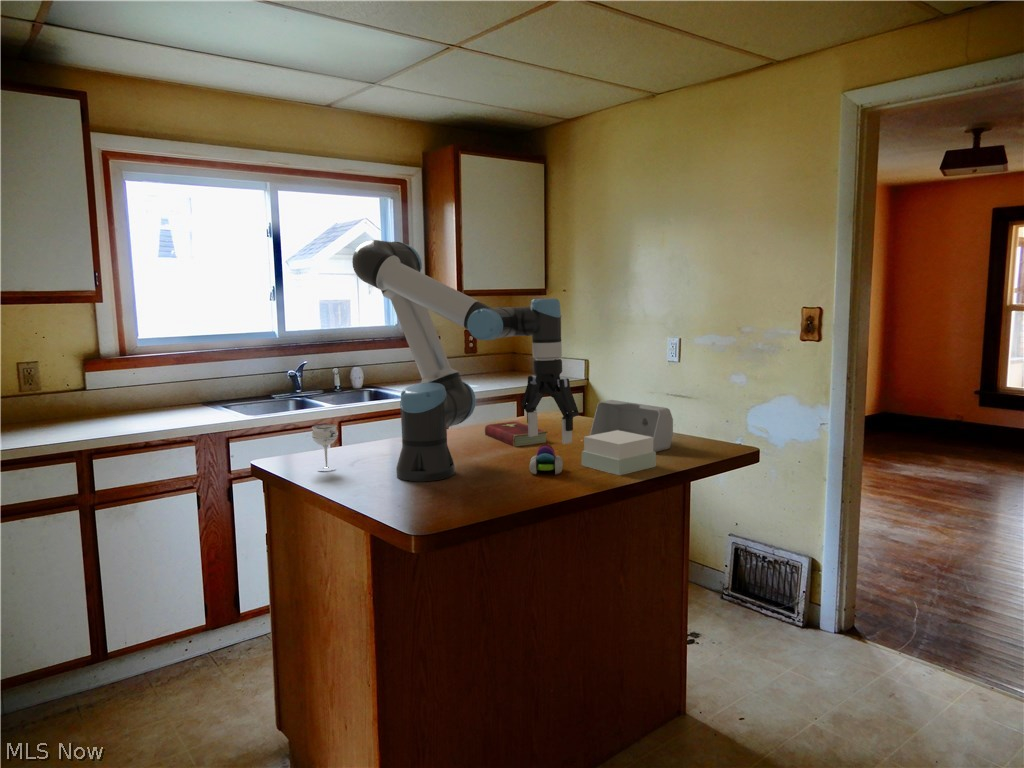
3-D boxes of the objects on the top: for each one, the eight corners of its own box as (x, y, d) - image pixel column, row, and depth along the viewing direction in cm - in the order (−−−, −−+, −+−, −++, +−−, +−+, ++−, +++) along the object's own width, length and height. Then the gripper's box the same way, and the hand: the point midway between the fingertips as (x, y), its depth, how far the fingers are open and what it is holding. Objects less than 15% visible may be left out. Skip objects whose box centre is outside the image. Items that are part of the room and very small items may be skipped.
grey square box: (619, 475, 178) (619, 444, 177) (581, 465, 189) (581, 436, 188) (655, 466, 186) (656, 437, 185) (617, 457, 197) (617, 429, 196)
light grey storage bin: (684, 446, 210) (685, 405, 209) (650, 455, 200) (650, 412, 199) (622, 434, 230) (622, 397, 228) (588, 441, 220) (588, 402, 218)
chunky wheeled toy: (563, 467, 187) (562, 441, 186) (561, 477, 178) (561, 449, 177) (531, 467, 188) (531, 441, 187) (528, 476, 179) (528, 449, 178)
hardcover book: (513, 448, 213) (513, 434, 213) (484, 436, 232) (484, 424, 231) (547, 443, 219) (547, 430, 218) (516, 432, 237) (516, 420, 237)
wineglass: (313, 474, 185) (311, 429, 183) (313, 468, 191) (311, 425, 190) (340, 471, 186) (337, 427, 185) (339, 466, 193) (337, 423, 191)
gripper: (591, 359, 172) (593, 444, 174) (528, 355, 191) (530, 431, 194) (569, 362, 167) (571, 448, 170) (506, 357, 187) (509, 435, 189)
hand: (549, 439), depth 182 cm, fingers open, 13 cm apart
